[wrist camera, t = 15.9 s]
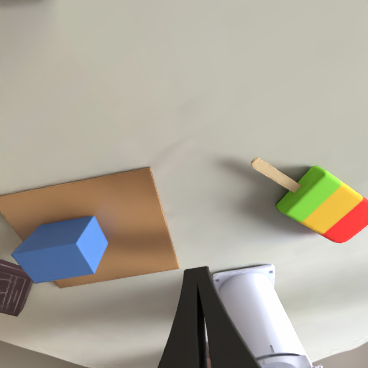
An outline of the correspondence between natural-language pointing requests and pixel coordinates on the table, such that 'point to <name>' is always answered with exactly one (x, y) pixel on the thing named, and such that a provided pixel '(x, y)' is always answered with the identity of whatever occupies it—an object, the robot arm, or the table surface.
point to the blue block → (62, 250)
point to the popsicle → (320, 202)
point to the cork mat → (103, 221)
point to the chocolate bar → (13, 288)
